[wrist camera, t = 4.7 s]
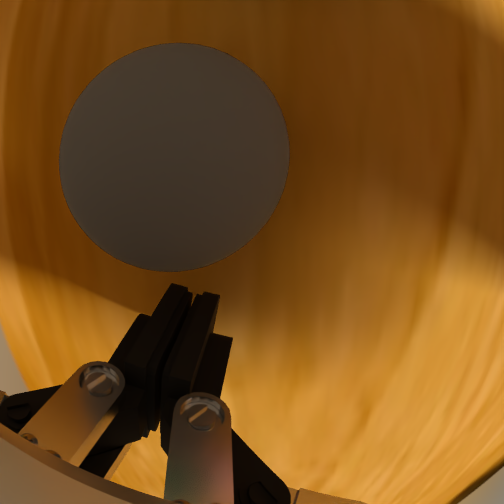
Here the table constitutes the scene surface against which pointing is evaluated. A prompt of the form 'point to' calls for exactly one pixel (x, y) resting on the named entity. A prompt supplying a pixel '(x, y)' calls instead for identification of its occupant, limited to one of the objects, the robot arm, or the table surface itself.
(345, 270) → the table surface
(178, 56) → the gray ball
